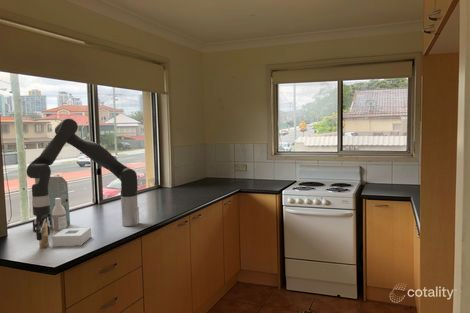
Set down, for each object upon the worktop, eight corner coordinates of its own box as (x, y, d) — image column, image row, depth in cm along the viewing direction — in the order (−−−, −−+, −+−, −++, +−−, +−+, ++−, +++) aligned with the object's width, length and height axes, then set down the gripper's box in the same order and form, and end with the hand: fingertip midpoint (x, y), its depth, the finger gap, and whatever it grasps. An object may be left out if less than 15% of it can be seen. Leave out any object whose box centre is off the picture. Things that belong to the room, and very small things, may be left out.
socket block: (91, 237, 202) (90, 227, 201) (81, 245, 188) (80, 235, 187) (64, 238, 201) (63, 228, 201) (52, 246, 187) (51, 236, 187)
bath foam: (53, 233, 210) (51, 197, 208) (67, 232, 213) (64, 196, 211) (53, 237, 204) (50, 200, 202) (67, 235, 206) (65, 198, 205)
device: (70, 224, 229) (67, 175, 226) (61, 228, 222) (57, 176, 219) (48, 223, 234) (44, 174, 231) (38, 226, 226) (34, 176, 224)
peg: (50, 245, 189) (48, 221, 188) (46, 248, 185) (44, 223, 184) (42, 245, 189) (40, 221, 188) (38, 248, 185) (36, 224, 184)
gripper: (42, 207, 179) (44, 241, 180) (55, 201, 193) (57, 233, 194) (25, 208, 178) (28, 242, 180) (40, 202, 193) (42, 233, 194)
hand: (43, 237), depth 187 cm, fingers open, 8 cm apart
